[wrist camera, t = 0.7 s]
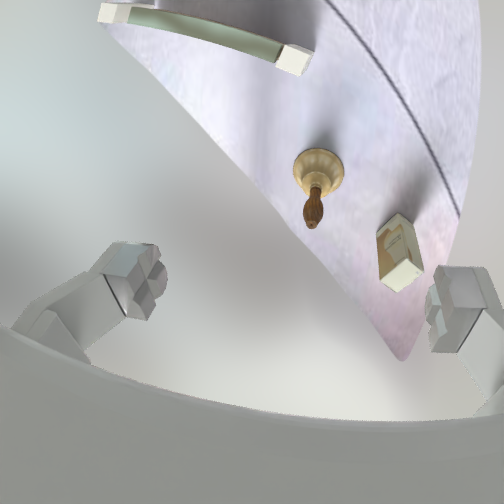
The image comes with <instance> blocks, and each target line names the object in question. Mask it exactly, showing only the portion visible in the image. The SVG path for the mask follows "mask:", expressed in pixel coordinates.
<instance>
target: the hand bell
mask: <svg viewBox="0 0 504 504" xmlns="http://www.w3.org/2000/svg"><path fill="white" fill-rule="evenodd" d="M293 175H294V178H295V180H296V182H297V184H298V185H299V186H300V187H301V188H302V189H303V191H304V192H305V194H306V195H308V196H309V199H308V200H307V201H306V203H305V205H304V209H303V217H304V220H305V222H306V226H307V227H308V228H309V229H314V228H316V227H317V225H318V223H319V222H320V221H321V219H322V217H323V204H322V202H321V200H320V198H323V197H325V196H326V195H327V194H329V193H331V192H333V191H335V190H336V189H337V188H338V187H339V186H340V184H341V183H342V180H343V177H344V168H343V165H342V163H341V161H340V159H339V158H338V157H337V156H336V155H335V154H334V153H332V152H330V151H328V150H326V149H321V148H313V149H309V150H306V151H304V152H303V153H301V154H300V155H299V156H298V157H297V159H296V161H295V163H294V166H293Z"/></svg>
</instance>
